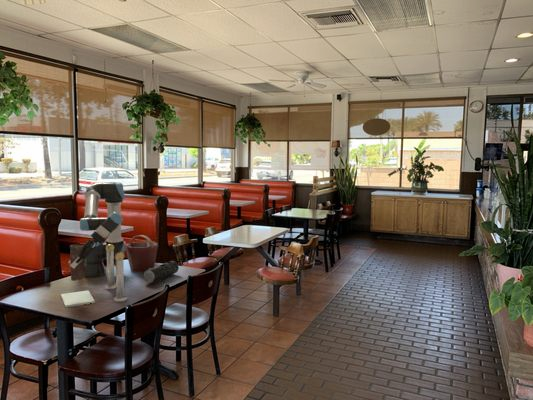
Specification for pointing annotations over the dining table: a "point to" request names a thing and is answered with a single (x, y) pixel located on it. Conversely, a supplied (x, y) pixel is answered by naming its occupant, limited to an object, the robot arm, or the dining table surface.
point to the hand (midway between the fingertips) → (70, 265)
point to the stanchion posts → (119, 273)
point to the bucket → (141, 254)
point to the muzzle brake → (160, 272)
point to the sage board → (77, 298)
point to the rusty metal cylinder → (79, 270)
